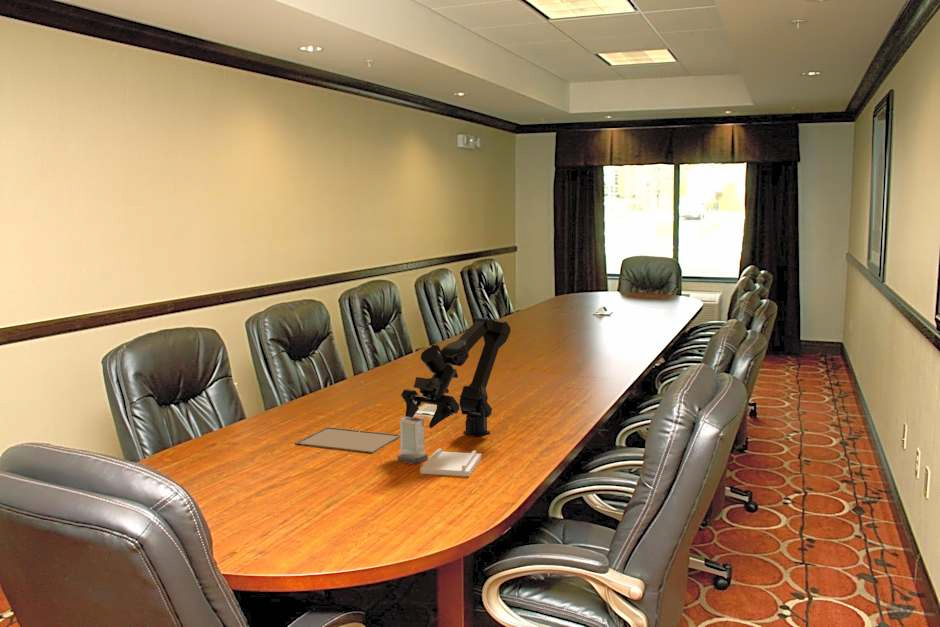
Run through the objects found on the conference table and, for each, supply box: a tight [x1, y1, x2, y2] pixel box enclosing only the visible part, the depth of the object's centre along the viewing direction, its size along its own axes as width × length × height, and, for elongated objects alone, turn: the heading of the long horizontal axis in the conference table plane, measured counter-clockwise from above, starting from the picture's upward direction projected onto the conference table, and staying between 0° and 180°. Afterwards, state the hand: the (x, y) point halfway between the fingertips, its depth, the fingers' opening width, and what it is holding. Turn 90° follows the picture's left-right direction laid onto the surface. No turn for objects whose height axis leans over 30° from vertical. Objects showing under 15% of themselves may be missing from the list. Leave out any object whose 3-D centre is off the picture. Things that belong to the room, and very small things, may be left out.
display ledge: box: [419, 448, 482, 477], centre depth 240 cm, size 16×14×3 cm
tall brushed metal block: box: [397, 416, 429, 466], centre depth 245 cm, size 6×6×12 cm
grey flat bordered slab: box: [294, 426, 400, 454], centre depth 266 cm, size 19×1×28 cm
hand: (417, 424), depth 246 cm, fingers open, 9 cm apart
